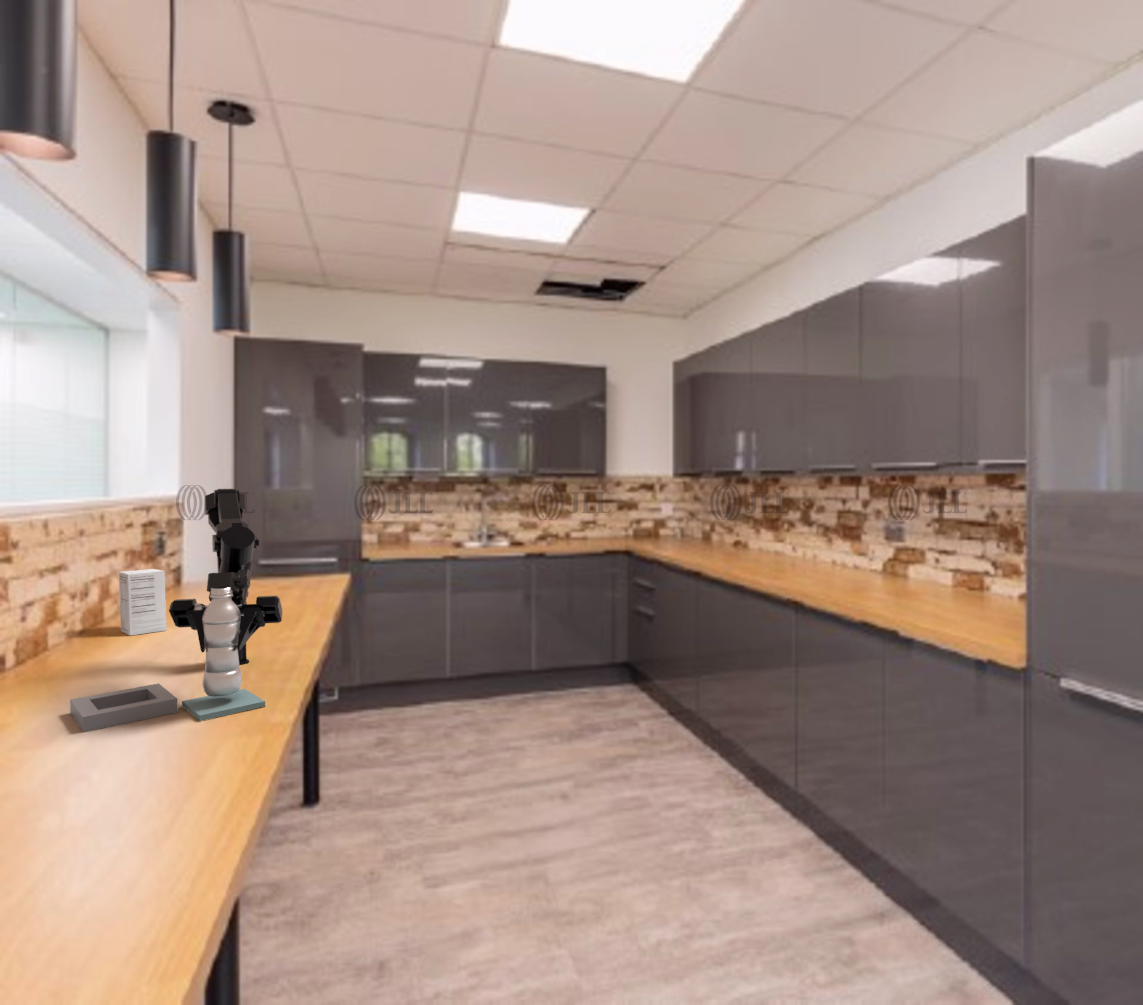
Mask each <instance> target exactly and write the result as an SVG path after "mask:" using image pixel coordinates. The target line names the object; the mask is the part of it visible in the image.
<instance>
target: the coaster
mask: <svg viewBox="0 0 1143 1005" xmlns="http://www.w3.org/2000/svg"><path fill="white" fill-rule="evenodd" d="M182 706H183V707H184V708H183V707H182ZM264 706H265V707H266V700H264V699H262V698H260V697H259V696H257V695H256V694H254V693H253V692H251V691H249V690H247V689H246V688H240V689H239V690H238V691H237V692H236V693H234V694H231V695H226V696H218V697H214V696H208V695H206V696H202V697H201V696H200V697H196V698H192V699H186V700H182V701H181V707H182V708H183V709H185V710H186V711H187V710H188V711H189V712H190V714H191V715H192V716H193V717H194V718H195V717H196V718H195V719H196V720H198V721H199V722H202V721H201V720H203V721H207V720H206V719H208V720H211V718H212V719H216V718H215V717H217V718H220V716H221V717H225V715H226V716H229V715H233V714H234V713H235V714H239V713H243V712H242V711H244V712H247V711H246V710H248V711H252V710H251V709H253V710H256V709H255V708H257V709H260V708H259V707H262V708H265V707H264ZM188 711H187V712H188ZM189 712H188V713H189ZM238 712H239V713H238ZM235 714H234V715H235Z"/></svg>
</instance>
